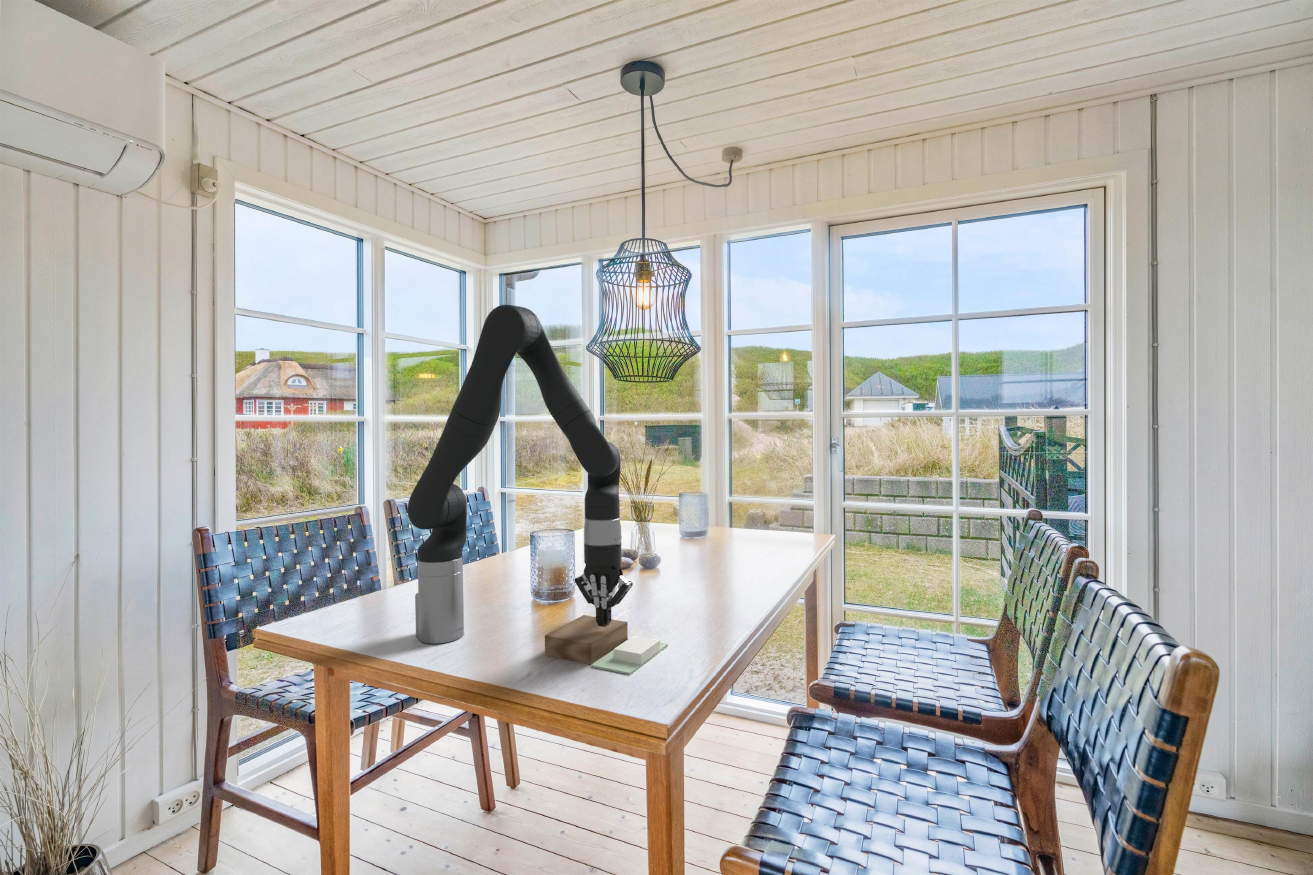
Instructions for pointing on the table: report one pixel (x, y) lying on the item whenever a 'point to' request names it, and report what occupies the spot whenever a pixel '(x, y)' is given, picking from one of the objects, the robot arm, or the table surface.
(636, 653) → the white flat block
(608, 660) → the mat
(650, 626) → the table surface
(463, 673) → the table surface
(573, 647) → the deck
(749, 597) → the table surface
